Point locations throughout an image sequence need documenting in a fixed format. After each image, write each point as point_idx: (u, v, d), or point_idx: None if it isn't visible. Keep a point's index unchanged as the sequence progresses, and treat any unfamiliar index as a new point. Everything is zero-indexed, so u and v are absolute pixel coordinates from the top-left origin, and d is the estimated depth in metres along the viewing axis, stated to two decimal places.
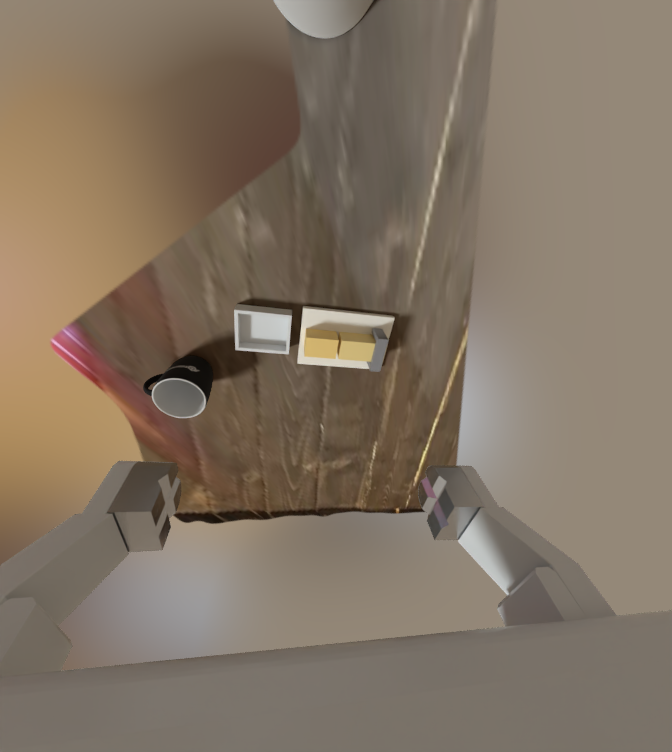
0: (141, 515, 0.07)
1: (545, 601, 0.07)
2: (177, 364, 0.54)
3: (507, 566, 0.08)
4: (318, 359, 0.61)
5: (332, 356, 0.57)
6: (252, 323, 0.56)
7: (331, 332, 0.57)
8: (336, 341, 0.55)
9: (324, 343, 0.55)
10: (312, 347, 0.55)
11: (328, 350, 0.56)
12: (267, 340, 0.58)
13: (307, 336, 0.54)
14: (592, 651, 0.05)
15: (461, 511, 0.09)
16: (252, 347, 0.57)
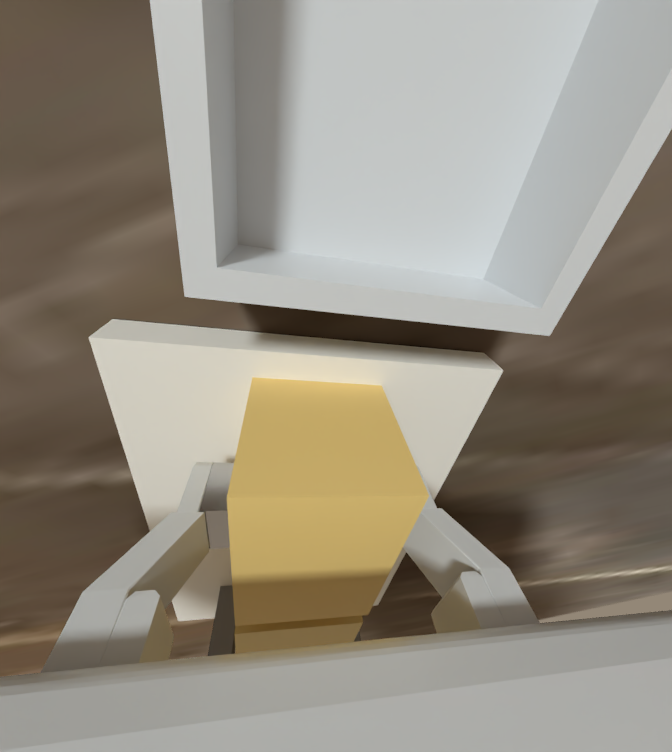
0: None
1: (467, 608, 0.06)
2: None
3: (442, 570, 0.08)
4: (169, 453, 0.10)
5: (252, 615, 0.08)
6: None
7: None
8: (362, 610, 0.09)
9: (357, 575, 0.08)
10: (325, 532, 0.06)
11: (301, 597, 0.08)
12: (277, 38, 0.06)
13: None
14: (592, 651, 0.05)
15: None
16: None
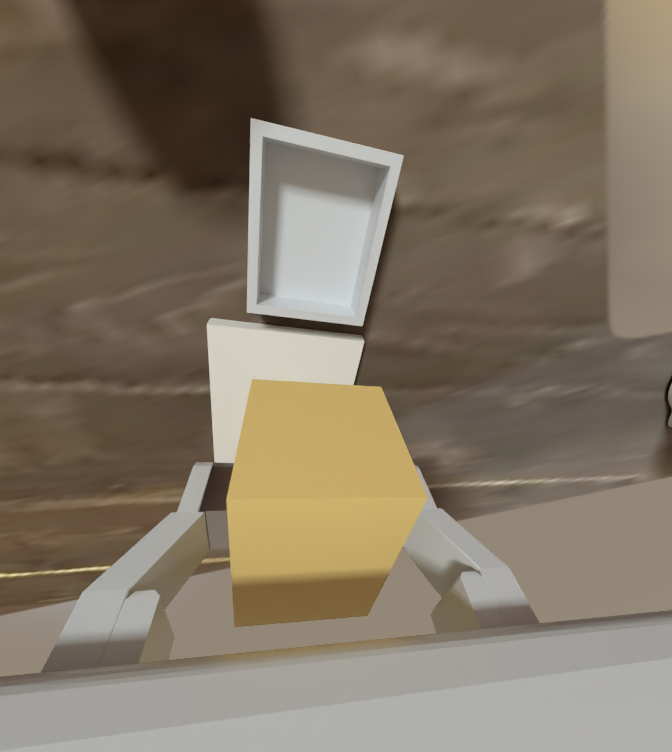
0: None
1: (467, 607, 0.06)
2: None
3: (442, 570, 0.08)
4: (227, 374, 0.24)
5: (252, 616, 0.08)
6: (328, 200, 0.19)
7: None
8: (361, 611, 0.09)
9: (356, 577, 0.08)
10: (324, 533, 0.06)
11: (300, 598, 0.08)
12: (274, 240, 0.20)
13: None
14: (592, 651, 0.05)
15: None
16: (261, 193, 0.16)
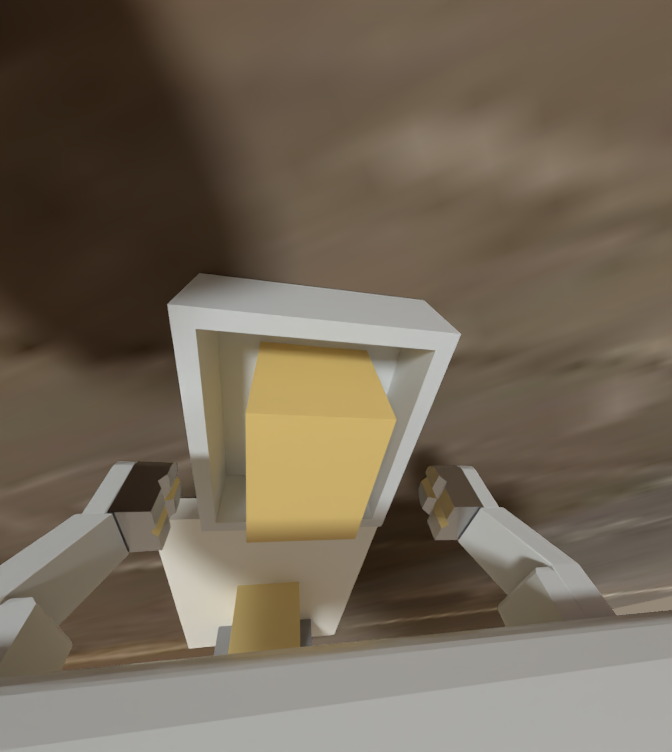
0: (141, 515, 0.07)
1: (545, 601, 0.07)
2: None
3: (507, 566, 0.08)
4: (188, 561, 0.17)
5: (261, 531, 0.10)
6: None
7: None
8: (349, 533, 0.11)
9: (344, 495, 0.10)
10: (318, 450, 0.08)
11: (300, 515, 0.10)
12: (242, 418, 0.13)
13: None
14: (592, 651, 0.05)
15: (461, 511, 0.09)
16: (207, 394, 0.09)
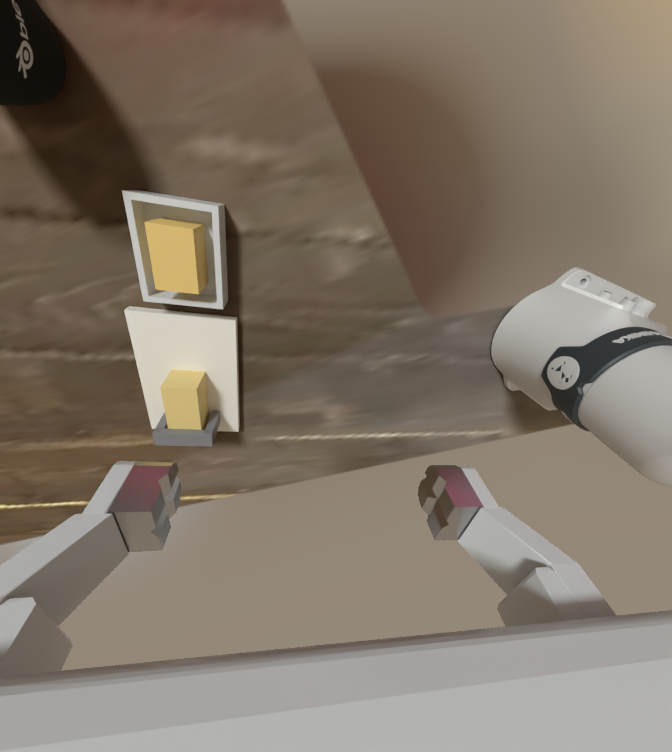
0: (141, 515, 0.07)
1: (545, 601, 0.07)
2: None
3: (507, 566, 0.08)
4: (144, 344, 0.36)
5: (159, 283, 0.29)
6: None
7: (205, 275, 0.32)
8: (195, 290, 0.30)
9: (186, 266, 0.28)
10: (170, 240, 0.27)
11: (172, 275, 0.29)
12: None
13: (194, 230, 0.27)
14: (592, 651, 0.05)
15: (461, 511, 0.09)
16: (138, 229, 0.28)
